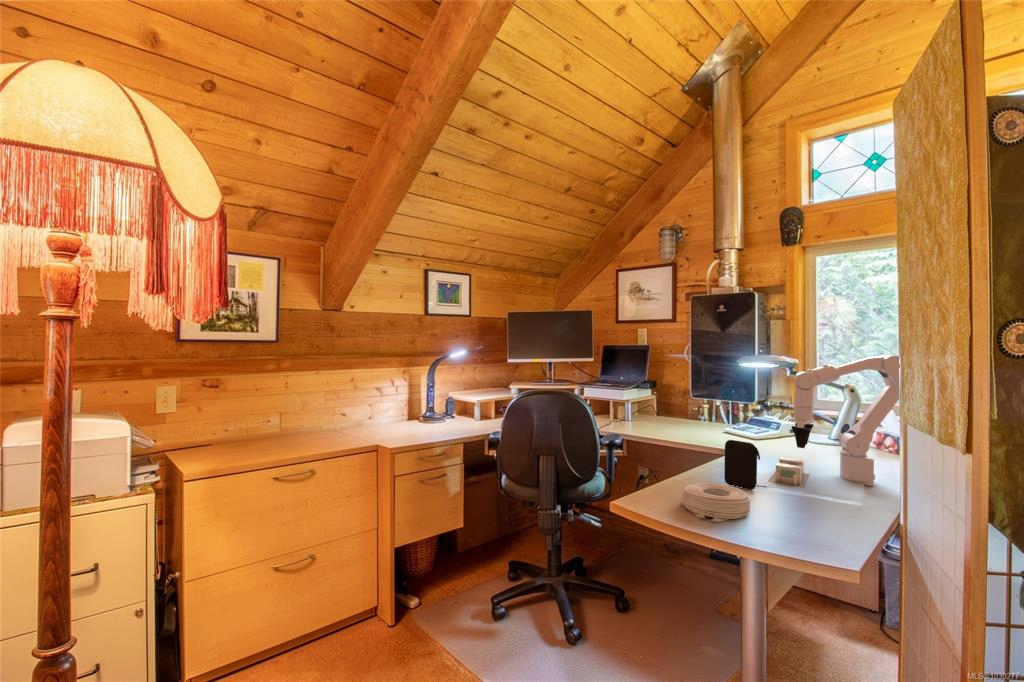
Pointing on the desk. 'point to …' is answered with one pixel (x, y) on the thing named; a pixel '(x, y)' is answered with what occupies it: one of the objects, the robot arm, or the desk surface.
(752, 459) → the carrying case or bag
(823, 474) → the desk surface
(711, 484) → the cable
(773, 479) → the grey peg board
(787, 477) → the light wooden block
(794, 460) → the tan rectangular block
